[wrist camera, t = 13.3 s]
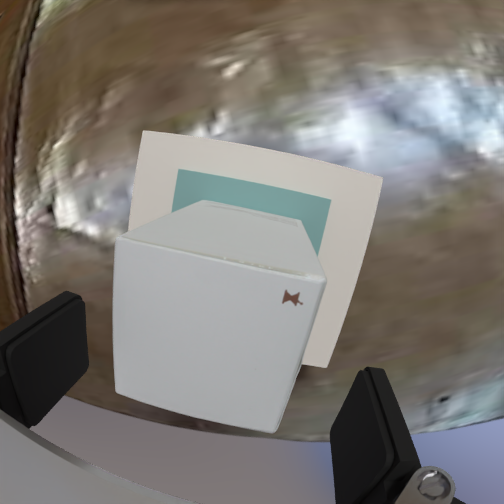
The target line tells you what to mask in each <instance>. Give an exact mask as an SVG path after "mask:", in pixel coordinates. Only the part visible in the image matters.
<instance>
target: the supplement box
mask: <svg viewBox="0 0 504 504" xmlns="http://www.w3.org/2000/svg"><path fill="white" fill-rule="evenodd" d="M326 284H327V278H326V275H325V273H324V270H323V268H322V266H321V264H320V261H319V259H318V257H317V254H316V252H315V250H314V248H313V246H312V243H311V241H310V239H309V237H308V235H307V232H306V230H305V228H304V226H303V224H302V221H301V220H298V219H293V218H289V217H285V216H280V215H275V214H271V213H266V212H262V211H257V210H253V209H248V208H243V207H238V206H234V205H229V204H224V203H219V202H214V201H208V200H201V201H199V202H196V203H193V204H191V205H189V206H186V207H184V208H182V209H179V210H177V211H175V212H172V213H170V214H167V215H165V216H163V217H160V218H158V219H156V220H154V221H151V222H149V223H147V224H144V225H142V226H140V227H138V228H136V229H133V230H131V231H129V232H126V233H124V234H122V235H120V236H118V237H117V238H116V241H115V257H114V276H113V356H114V376H115V390H116V392H117V393H118V394H121V395H124V396H127V397H129V398H132V399H135V400H138V401H141V402H144V403H147V404H150V405H153V406H156V407H160V408H163V409H166V410H170V411H173V412H177V413H180V414H184V415H188V416H192V417H196V418H200V419H204V420H209V421H213V422H218V423H222V424H227V425H232V426H236V427H241V428H246V429H251V430H256V431H262V432H267V433H274V432H275V431H276V430H277V429H278V426H279V423H280V421H281V419H282V416H283V413H284V410H285V407H286V405H287V402H288V399H289V397H290V394H291V391H292V388H293V386H294V383H295V380H296V377H297V375H298V373H299V370H300V368H301V365H302V362H303V358H304V354H305V350H306V348H307V345H308V341H309V338H310V335H311V332H312V329H313V326H314V323H315V320H316V317H317V313H318V310H319V307H320V303H321V300H322V297H323V294H324V291H325V287H326Z"/></svg>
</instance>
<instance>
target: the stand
mask: <svg viewBox="0 0 504 504" xmlns="http://www.w3.org/2000/svg"><path fill="white" fill-rule="evenodd" d="M382 182H383V178H382V177H379V176H376V175H372V174H369V173H365V172H362V171H358V170H354V169H351V168H347V167H343V166H339V165H336V164H332V163H328V162H324V161H320V160H315V159H311V158H307V157H303V156H298V155H294V154H289V153H285V152H280V151H275V150H270V149H265V148H260V147H255V146H249V145H244V144H238V143H233V142H227V141H221V140H214V139H208V138H201V137H194V136H187V135H179V134H171V133H162V132H153V131H143V134H142V139H141V144H140V150H139V156H138V161H137V168H136V174H135V180H134V187H133V194H132V202H131V210H130V219H129V228H128V232H129V231H131V230H133V229H136V228H138V227H140V226H142V225H144V224H147V223H149V222H151V221H154V220H156V219H158V218H160V217H163V216H165V215H167V214H170V213H172V212H175V211H177V210H179V209H182V208H184V207H186V206H189V205H191V204H193V203H196V202H199V201H201V200H208V201H214V202H219V203H224V204H229V205H234V206H238V207H243V208H248V209H253V210H257V211H262V212H266V213H271V214H275V215H280V216H285V217H289V218H293V219H298V220H301V221H302V224H303V226H304V228H305V230H306V232H307V235H308V237H309V239H310V241H311V243H312V246H313V248H314V250H315V252H316V254H317V257H318V259H319V261H320V264H321V266H322V268H323V270H324V273H325V275H326V278H327V284H326V287H325V291H324V294H323V297H322V300H321V303H320V307H319V310H318V313H317V317H316V320H315V323H314V326H313V329H312V332H311V335H310V338H309V341H308V345H307V348H306V350H305V354H304V358H303V362H302V364H305V365H311V366H317V367H324V368H327V366H328V363H329V360H330V358H331V355H332V352H333V350H334V347H335V344H336V342H337V339H338V336H339V333H340V330H341V327H342V325H343V322H344V319H345V316H346V313H347V310H348V307H349V304H350V301H351V298H352V294H353V291H354V288H355V285H356V282H357V278H358V275H359V272H360V268H361V265H362V261H363V258H364V254H365V251H366V247H367V243H368V240H369V236H370V232H371V228H372V224H373V220H374V216H375V212H376V208H377V204H378V200H379V195H380V191H381V186H382Z"/></svg>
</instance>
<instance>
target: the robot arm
mask: <svg viewBox="0 0 504 504" xmlns="http://www.w3.org/2000/svg"><path fill="white" fill-rule="evenodd" d="M88 366H89V358H88V347H87V333H86V314H85V303H84V301H82V298H81V296H80V295H77V294H74V293H72V292H69V291H65V292H63V293H61V294H59V295H58V296H56V297H54V298H53V299H51V300H50V301H48V302H46V303H45V304H43V305H41V306H40V307H38V308H36V309H35V310H33V311H32V312H30V313H28V314H27V315H25V316H24V317H22V318H21V319H19V320H17V321H16V322H14V323H13V324H11V325H10V326H8V327H6V328H5V329H3V330H2V331H0V504H201V503H197V502H193V501H189V500H186V499H182V498H179V497H176V496H172V495H169V494H166V493H163V492H160V491H157V490H154V489H151V488H148V487H145V486H143V485H140V484H137V483H134V482H132V481H129V480H127V479H124V478H122V477H120V476H117V475H115V474H112V473H110V472H108V471H106V470H103V469H101V468H99V467H97V466H95V465H93V464H91V463H89V462H86V461H85V460H82V459H80V458H79V457H76V456H75V455H73V454H71V453H69V452H67V451H65V450H63V449H62V448H60V447H58V446H56V445H54V444H53V443H51V442H49V441H48V440H46V439H44V438H42V437H41V436H39V435H38V434H36V433H34V432H33V431H31V430H30V429H29V428H30V427H31V426H35V425H37V424H38V423H39V422H40V421H41V420H42V419H43V417H44V416H45V415H46V414H47V413H48V412H49V411H50V410H51V409H52V408H53V407H54V406H55V404H56V403H57V402H58V401H59V400H60V399H61V398H62V397H63V396H64V395H65V394H66V393H67V391H68V390H69V389H70V388H71V387H72V386H73V385H74V384H75V383H76V382H77V381H78V380H79V379H80V378H81V377H82V376H83V374H84V373H85V372H86V371H87V369H88ZM330 443H331V453H332V464H333V474H334V487H335V500H336V504H466V503H464V502H462V501H460V500H458V499H457V498H455V497H454V494H455V483H454V481H453V479H452V477H451V476H450V475H449V474H448V473H447V472H446V471H444V470H443V469H441V468H438V467H434V466H426V467H421V464H420V461H419V458H418V455H417V452H416V449H415V447H414V444H413V441H412V439H411V436H410V433H409V430H408V428H407V425H406V423H405V420H404V417H403V415H402V412H401V410H400V407H399V405H398V402H397V400H396V397H395V395H394V392H393V390H392V387H391V385H390V383H389V380H388V378H387V375H386V373H385V371H384V369H381V368H374V367H366V368H365V369H364V371H363V370H360V371H359V372H358V374H357V376H356V378H355V380H354V382H353V385H352V387H351V389H350V391H349V393H348V395H347V397H346V399H345V401H344V403H343V405H342V408H341V410H340V412H339V413H338V415H337V417H336V419H335V421H334V423H333V425H332V427H331V430H330Z"/></svg>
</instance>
